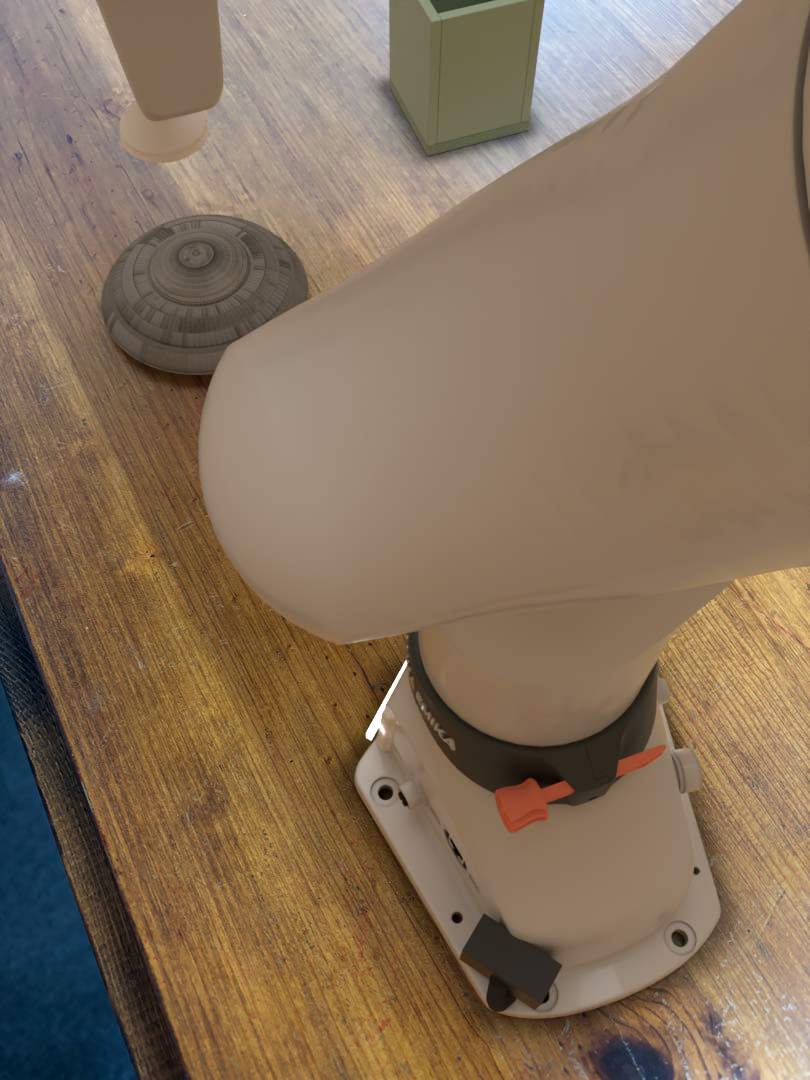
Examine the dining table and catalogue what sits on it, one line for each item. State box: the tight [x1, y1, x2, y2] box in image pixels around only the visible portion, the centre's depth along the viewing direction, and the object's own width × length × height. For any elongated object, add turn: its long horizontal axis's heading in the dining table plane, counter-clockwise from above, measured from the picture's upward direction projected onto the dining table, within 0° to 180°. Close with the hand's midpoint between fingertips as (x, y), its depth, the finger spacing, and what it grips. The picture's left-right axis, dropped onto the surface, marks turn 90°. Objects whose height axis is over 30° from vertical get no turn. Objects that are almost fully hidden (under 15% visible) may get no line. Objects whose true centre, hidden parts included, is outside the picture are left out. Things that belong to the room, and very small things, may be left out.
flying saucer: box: [100, 213, 309, 376], centre depth 76 cm, size 15×15×6 cm
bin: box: [388, 0, 546, 157], centre depth 84 cm, size 9×12×9 cm
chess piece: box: [118, 100, 210, 164], centre depth 55 cm, size 5×5×10 cm
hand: (153, 76), depth 56 cm, fingers closed on chess piece
